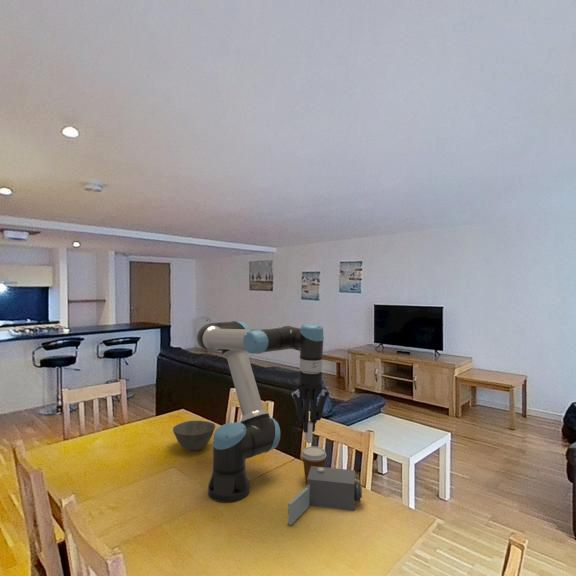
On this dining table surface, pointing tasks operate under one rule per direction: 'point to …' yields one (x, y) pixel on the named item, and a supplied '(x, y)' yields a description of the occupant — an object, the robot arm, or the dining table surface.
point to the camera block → (333, 488)
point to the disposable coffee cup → (313, 458)
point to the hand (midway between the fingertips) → (308, 441)
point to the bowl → (194, 434)
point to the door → (298, 505)
